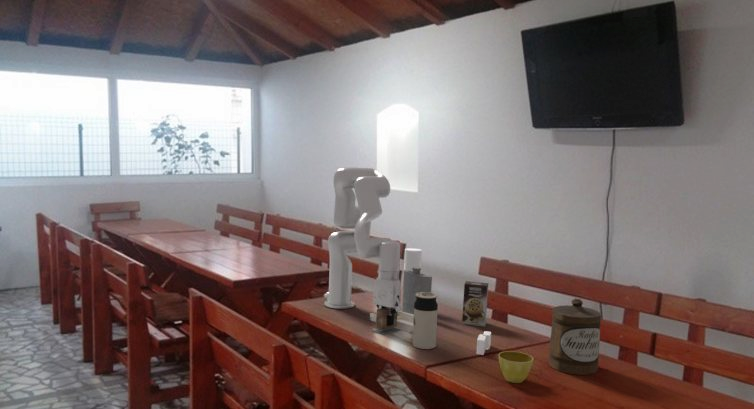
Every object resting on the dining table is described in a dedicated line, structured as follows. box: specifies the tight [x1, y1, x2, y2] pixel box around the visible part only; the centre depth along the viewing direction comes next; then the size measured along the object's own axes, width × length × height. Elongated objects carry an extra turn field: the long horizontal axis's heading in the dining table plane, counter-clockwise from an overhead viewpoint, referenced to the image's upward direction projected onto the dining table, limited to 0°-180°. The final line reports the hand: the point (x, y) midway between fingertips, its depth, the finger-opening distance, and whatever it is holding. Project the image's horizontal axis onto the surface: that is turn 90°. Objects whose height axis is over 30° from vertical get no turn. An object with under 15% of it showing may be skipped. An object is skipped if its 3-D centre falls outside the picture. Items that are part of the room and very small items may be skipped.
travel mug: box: [412, 292, 439, 350], centre depth 212 cm, size 8×8×18 cm
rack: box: [369, 310, 414, 334], centre depth 239 cm, size 22×12×3 cm, turn 46°
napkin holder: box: [475, 330, 492, 356], centre depth 212 cm, size 15×11×6 cm
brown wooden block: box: [375, 307, 397, 330], centre depth 228 cm, size 3×8×7 cm, turn 136°
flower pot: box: [498, 350, 534, 384], centre depth 184 cm, size 10×10×7 cm
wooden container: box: [548, 298, 602, 376], centre depth 197 cm, size 15×15×22 cm
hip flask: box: [401, 267, 433, 315], centre depth 252 cm, size 16×4×20 cm, turn 36°
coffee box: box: [461, 280, 489, 327], centre depth 244 cm, size 9×6×16 cm
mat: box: [371, 327, 402, 336], centre depth 229 cm, size 6×10×1 cm, turn 136°
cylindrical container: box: [403, 247, 423, 274], centre depth 265 cm, size 7×7×25 cm
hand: (386, 323), depth 228 cm, fingers closed on brown wooden block, 3 cm apart
